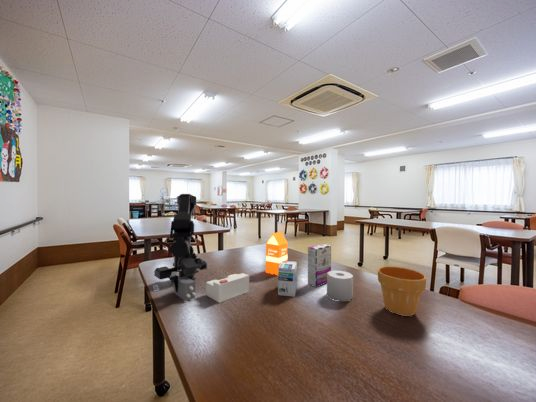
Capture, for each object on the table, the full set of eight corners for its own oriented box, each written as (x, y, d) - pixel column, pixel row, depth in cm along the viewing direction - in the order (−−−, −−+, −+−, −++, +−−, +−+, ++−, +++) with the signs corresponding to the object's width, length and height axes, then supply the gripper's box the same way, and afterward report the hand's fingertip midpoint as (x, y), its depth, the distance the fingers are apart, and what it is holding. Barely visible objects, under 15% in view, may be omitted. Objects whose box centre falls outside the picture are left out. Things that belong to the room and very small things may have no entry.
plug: (175, 294, 90) (175, 278, 90) (185, 291, 93) (185, 276, 93) (186, 302, 84) (186, 285, 83) (197, 298, 86) (197, 282, 86)
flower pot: (418, 304, 84) (419, 268, 84) (431, 325, 71) (432, 282, 70) (374, 298, 89) (375, 264, 88) (379, 316, 75) (380, 276, 75)
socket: (205, 295, 90) (206, 276, 89) (235, 285, 100) (235, 268, 99) (219, 302, 83) (219, 283, 83) (249, 291, 93) (249, 274, 93)
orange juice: (287, 270, 120) (288, 231, 119) (278, 275, 112) (279, 234, 112) (274, 268, 124) (274, 230, 123) (265, 272, 117) (265, 232, 116)
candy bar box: (322, 278, 110) (322, 243, 109) (331, 281, 106) (331, 245, 106) (306, 284, 102) (307, 246, 102) (316, 287, 99) (316, 248, 98)
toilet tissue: (343, 287, 99) (343, 267, 99) (356, 302, 85) (356, 278, 85) (322, 287, 98) (322, 267, 98) (331, 302, 85) (332, 278, 85)
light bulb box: (294, 297, 89) (295, 269, 89) (277, 295, 90) (277, 267, 90) (297, 286, 99) (297, 261, 99) (281, 285, 101) (281, 260, 100)
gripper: (166, 259, 78) (166, 305, 78) (214, 250, 91) (214, 289, 92) (153, 253, 86) (153, 295, 86) (200, 245, 99) (199, 282, 99)
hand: (182, 290), depth 91 cm, fingers closed on plug, 4 cm apart
